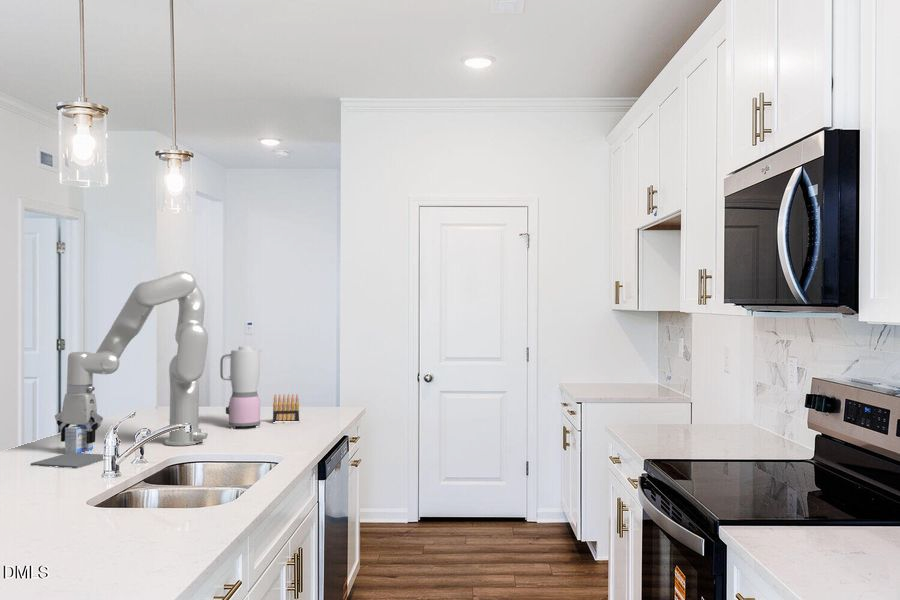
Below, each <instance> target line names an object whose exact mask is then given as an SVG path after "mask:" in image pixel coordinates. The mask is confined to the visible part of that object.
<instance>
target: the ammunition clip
mask: <svg viewBox="0 0 900 600" xmlns="http://www.w3.org/2000/svg"><path fill="white" fill-rule="evenodd" d="M272 408H273V409H272V423H273V422H275V421H299V422H300V398H299V394H298V393H296V395H294V393H292V394H291V396H290V394H289V393H288V394H287V398H286V394H285V393H284V394H283V396H282V395H281V393H279V394H278V396H277V394H276V393H275V394H274V396H273V405H272Z"/></svg>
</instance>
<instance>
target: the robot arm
mask: <svg viewBox="0 0 900 600" xmlns="http://www.w3.org/2000/svg"><path fill="white" fill-rule="evenodd" d="M174 300H177V301H178V317H177V323H176V324H177V325H176V331H175V335H174V336H175V341H176V343H177V352H176V354H175V356H173V357H172V359H171V360H170V363H169V367H168V372H169V375H168V377H169V426H170V425H172V424H177V423H191V424H192V426H193V430H192V432H191V433H186V432H185V431H184V430H183V429H179V430H175V431H171V432H170V431H169V434H168V435H169V438H166V439H164V445H167V446H176V447H177V446H183V447H184V446H193V445H197V444H196V443H198V444H200V443H199V442H201V443H203V442H202V441H204V440H206V439H207V438H208V435H209V434H208V433H207V432H202V428H199V411H200V410H199V407H200V406H199V403H200V402H199V397H200V385H199V384H200V383H199V379H200V378H201V377H202V376H203V374H204V371H205V366H206V361H207V360H206V359H207V352H208V345H209V335H208V334H209V333H208V332H207V330H206V327H204V319H205V307H206V306H205V304H206V303H205V299H204V294H203V292H202V291H201V289H200V287H199V286H198V284H197V281H196V278H195V277H194V275H193V274H191V273H190V272H188V271H176V272H174V273H171V274H169V275H166V276H162V277H158V278H156V279H153V280H152V279H151V280H148V281H143V282H140V283H137V285H136V286H135V287H134V288H133V290H132V291H131V293H130V295H129V297H128V299H127V300H126V302H125V303H124V305H123V306H122V308H121V310H120V312H119V313H118V315H117V317H116V318H115V320H114V321H113V322H112V323H113V324H112V325H111V327H110V329H109V330H108V332H107V334H106V335H105V337H104V339H103V340H102V342H101V344H100V345H99V346H98V348H97V350H96V352H95V353H92V352H90V351H89V352H88V351H72V352H70V353H69V354H68V356H67V369H66V370H67V371H66V393H65V394H64V398H63V401H62V402H63V403H62V407H61V412H59V413H56V414H55V415H54V419H55V421H56V424H57V426H58V429H59V430H60V442H62V443H63V442H64V443H65V428H67V427H71V425H72V426H76V425H85V426H86V427H87V429H88V430H89V431H87V444H89V443H93V444H94V443H95V442H96V431H97V430H98V428H100V426H101V423H103V420H104V418H103V416H101V415H100V414H98V409H97V399H96V395H95V393H93V392H94V391H95V389H96V388H95V387H94V386H93V385H94V384H93V383H94V382H93V381H94V380H93V379H94V374H98V375H111V374H113V373H115V372H116V371H117V370H118V369H119V367H120V358H121V356H122V354H123V353H124V351H125V350H126V347H127V346H128V345H129V344H130V342H131V341H132V340H133V339H134V338H135V337H136V336H137V335H138V334H139V333H140V332H141V330H142V328H143V326H144V325H145V323H146V321H147V320H148V317H150V314H151V313H152V311H153V309H154V307H155V306H157V305H158V306H159V305H163V304H165V303H169V302H172V301H174ZM91 426H92V427H91Z"/></svg>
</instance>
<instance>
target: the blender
mask: <svg viewBox="0 0 900 600" xmlns="http://www.w3.org/2000/svg"><path fill="white" fill-rule="evenodd" d="M261 352H262V350H261V349H253V347H252V345H251V346H249V345H246V346H244V345H240V346H238V349H232V350H231V351H230V353H226V354H223V355H222V356H221V358H220V365H219V368H220V372H219V373H220V379H222V380H224V381H230V383H231V390H232V391H231V396H230V398H229V400H228V406H226V407H225V415H228V425H229V426H230V428H231V427H232V428H235V429H236V428H237V427H253V426H255V427H256V426H259V425H261V399H260V397H259V395H258V387H259V380H260V373H261V372H260V365H261V360H260V359H261V358H260V353H261ZM226 359H230V362H229V363H230V365H229V367H230V371H229V374H230V376H229V375H226ZM259 427H260V426H259Z"/></svg>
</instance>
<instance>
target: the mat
mask: <svg viewBox="0 0 900 600" xmlns="http://www.w3.org/2000/svg"><path fill="white" fill-rule="evenodd" d="M103 455H104V454H99V453H87V452H84V453H71V452H70V453H66V454H65V453H63V454H59V455H55V456H53V457H48V458H45V459H42V460H41V459H40V460H38V461H33V462H30V466H34V465H39V466H38V467H49V466H58V467H57V468H64V467H72V468H71V469H79V467H80V468H83V467H86V466H90V465H93V464H95V462H96V463H99V462H101V461H104V460H103ZM98 461H99V462H98ZM92 463H93V464H92ZM85 465H86V466H85ZM82 466H83V467H82Z"/></svg>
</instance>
